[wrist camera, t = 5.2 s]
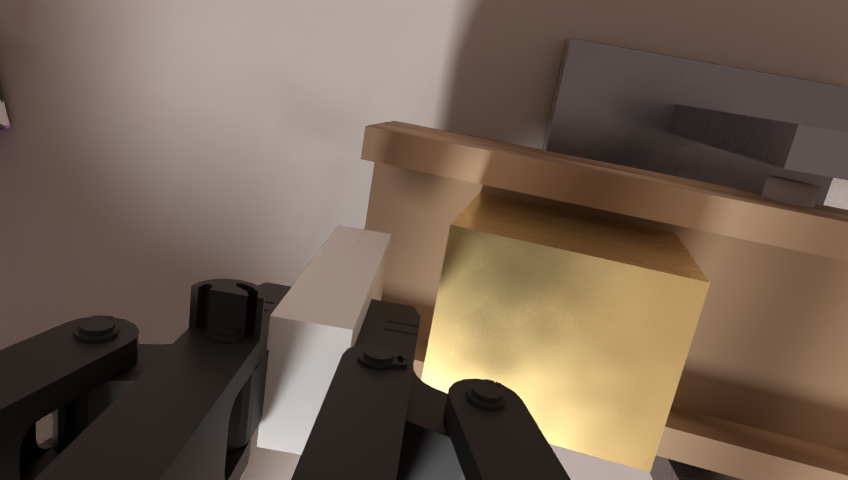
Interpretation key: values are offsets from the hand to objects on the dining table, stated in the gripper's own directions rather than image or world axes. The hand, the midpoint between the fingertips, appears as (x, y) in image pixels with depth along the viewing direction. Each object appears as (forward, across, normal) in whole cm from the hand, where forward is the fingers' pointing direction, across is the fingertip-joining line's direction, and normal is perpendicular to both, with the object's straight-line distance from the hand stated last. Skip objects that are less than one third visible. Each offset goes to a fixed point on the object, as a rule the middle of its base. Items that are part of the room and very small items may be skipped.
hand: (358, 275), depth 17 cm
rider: (+2, +6, 0) cm, 7 cm away
